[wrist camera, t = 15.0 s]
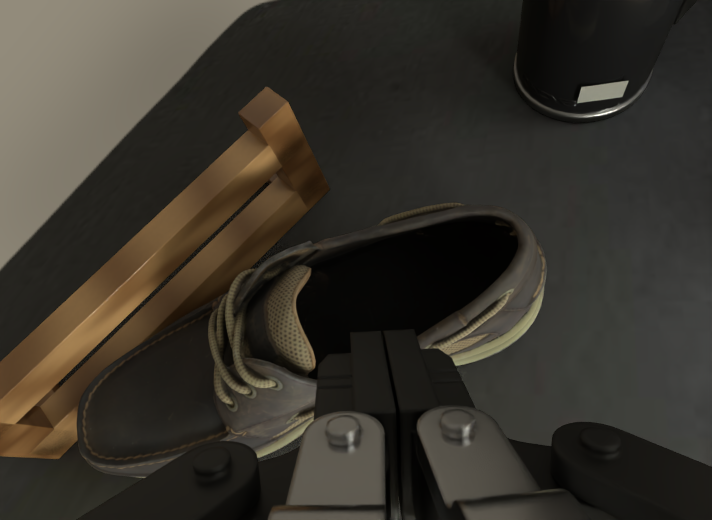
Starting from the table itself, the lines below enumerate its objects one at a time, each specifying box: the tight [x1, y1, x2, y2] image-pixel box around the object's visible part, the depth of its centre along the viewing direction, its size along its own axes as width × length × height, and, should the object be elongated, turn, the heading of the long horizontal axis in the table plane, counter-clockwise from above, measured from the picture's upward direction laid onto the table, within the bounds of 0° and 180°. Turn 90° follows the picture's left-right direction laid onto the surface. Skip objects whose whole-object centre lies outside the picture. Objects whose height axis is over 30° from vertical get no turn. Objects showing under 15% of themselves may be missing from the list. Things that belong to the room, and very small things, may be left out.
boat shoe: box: [76, 203, 547, 478], centre depth 29 cm, size 11×29×11 cm, turn 113°
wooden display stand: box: [0, 87, 330, 459], centre depth 34 cm, size 27×8×10 cm, turn 136°
